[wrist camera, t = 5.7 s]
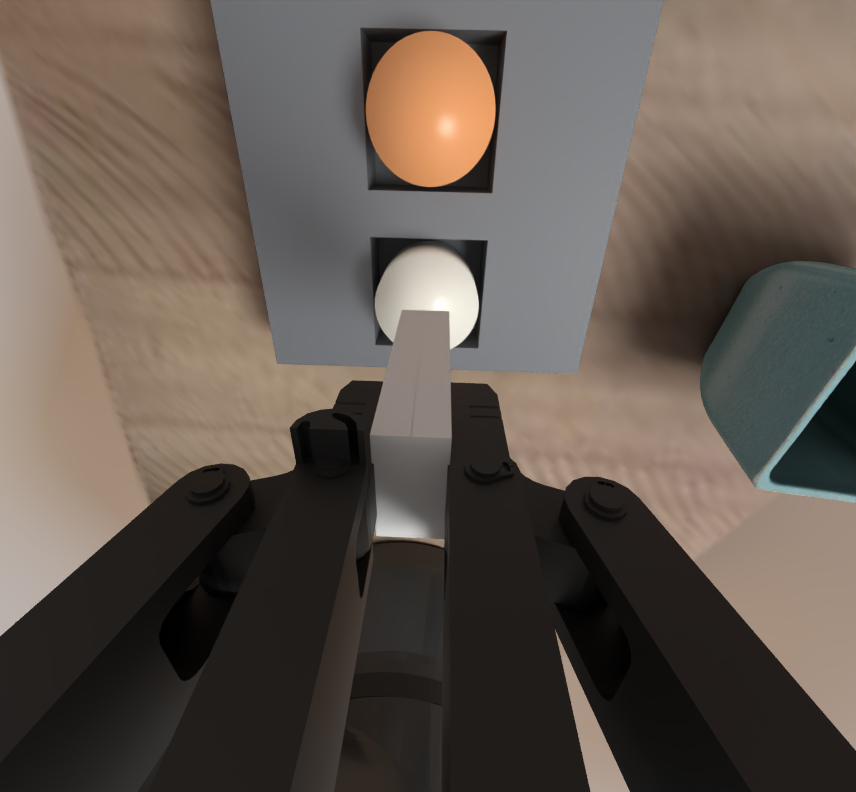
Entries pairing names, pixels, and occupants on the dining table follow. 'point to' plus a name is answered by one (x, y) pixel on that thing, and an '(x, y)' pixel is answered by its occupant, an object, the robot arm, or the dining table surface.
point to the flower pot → (789, 380)
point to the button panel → (443, 205)
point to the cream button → (428, 288)
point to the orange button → (430, 108)
